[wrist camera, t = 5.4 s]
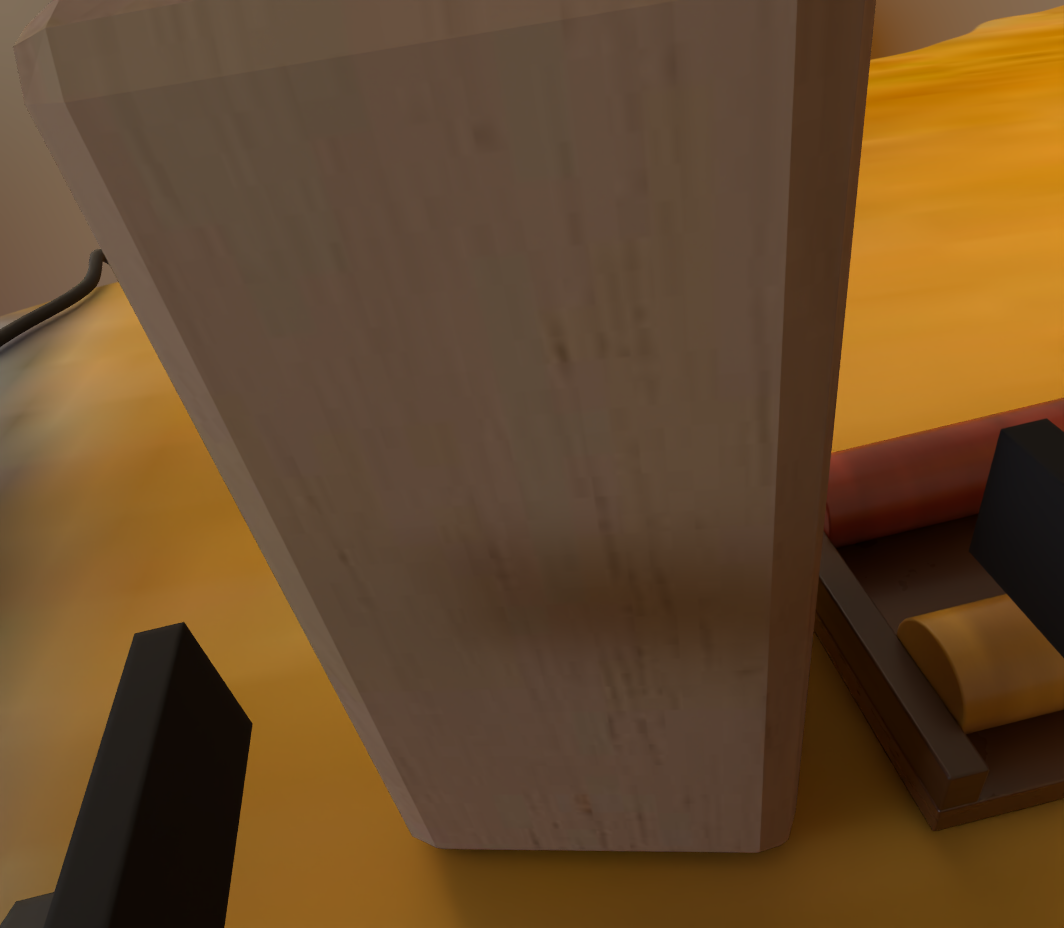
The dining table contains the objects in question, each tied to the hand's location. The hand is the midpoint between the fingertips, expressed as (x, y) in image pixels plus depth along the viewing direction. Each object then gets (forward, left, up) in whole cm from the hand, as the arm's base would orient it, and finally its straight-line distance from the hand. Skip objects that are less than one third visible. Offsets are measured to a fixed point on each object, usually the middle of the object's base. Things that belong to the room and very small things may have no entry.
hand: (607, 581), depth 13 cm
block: (-5, 0, -11) cm, 12 cm away
